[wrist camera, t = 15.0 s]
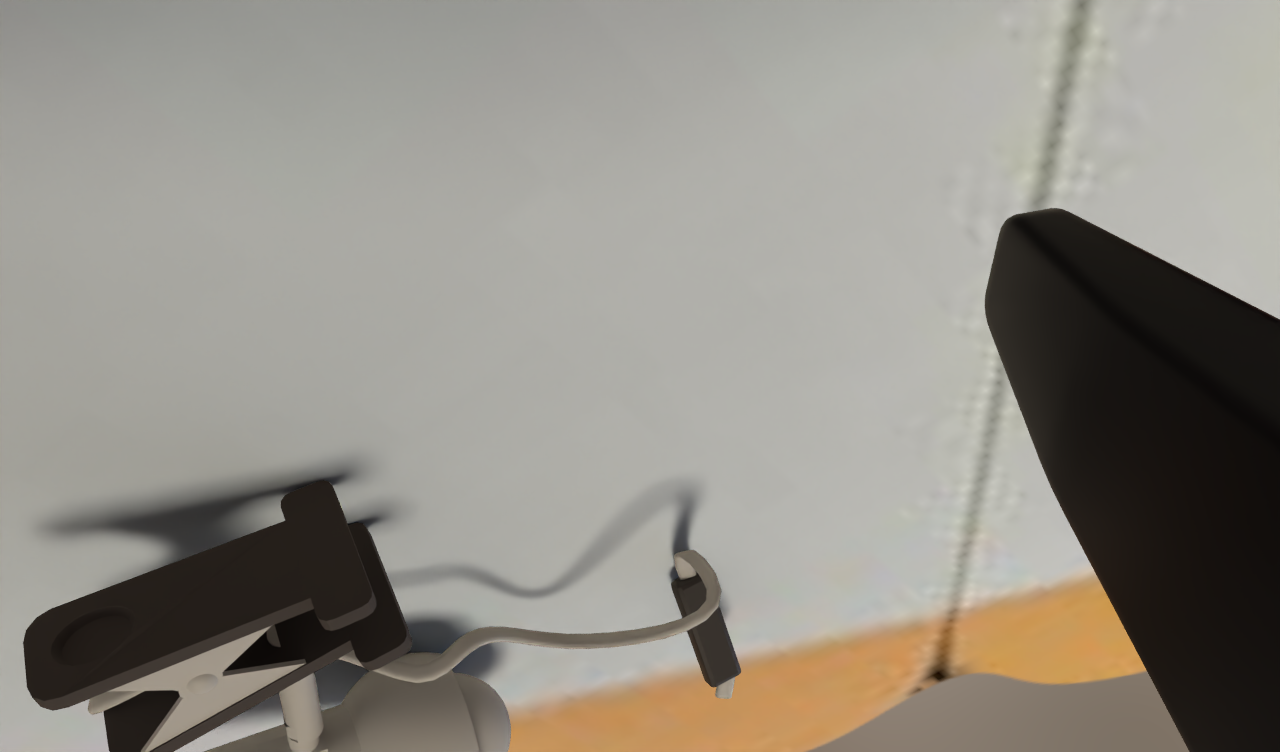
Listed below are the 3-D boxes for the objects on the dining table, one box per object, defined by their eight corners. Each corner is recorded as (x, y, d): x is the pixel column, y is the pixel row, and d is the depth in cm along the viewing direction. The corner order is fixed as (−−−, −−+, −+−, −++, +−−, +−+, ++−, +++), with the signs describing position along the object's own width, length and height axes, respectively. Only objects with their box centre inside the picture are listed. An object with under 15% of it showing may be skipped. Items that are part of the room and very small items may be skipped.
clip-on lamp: (706, 367, 33) (3, 543, 26) (827, 519, 28) (21, 777, 21) (670, 632, 40) (117, 822, 33) (762, 784, 36) (147, 1039, 29)
